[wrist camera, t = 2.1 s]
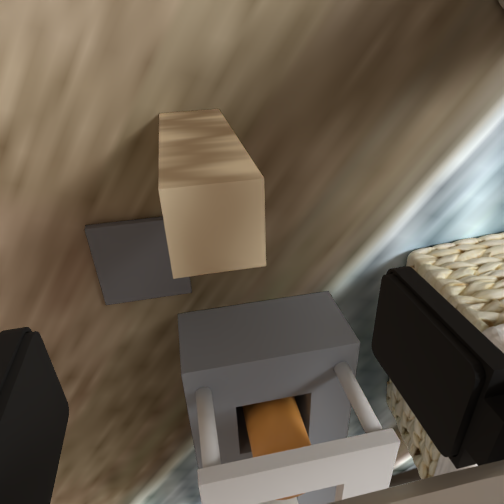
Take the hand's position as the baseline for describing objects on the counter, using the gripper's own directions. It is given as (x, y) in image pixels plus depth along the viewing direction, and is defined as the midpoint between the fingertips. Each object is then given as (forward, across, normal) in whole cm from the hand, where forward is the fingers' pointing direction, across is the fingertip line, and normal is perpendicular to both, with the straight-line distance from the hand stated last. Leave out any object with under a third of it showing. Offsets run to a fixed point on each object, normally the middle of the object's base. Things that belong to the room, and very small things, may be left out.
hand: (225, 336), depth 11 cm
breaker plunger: (+16, -5, +23) cm, 28 cm away
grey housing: (+20, -5, +28) cm, 34 cm away
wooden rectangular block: (+20, -1, 0) cm, 20 cm away
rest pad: (+20, +4, +9) cm, 22 cm away
